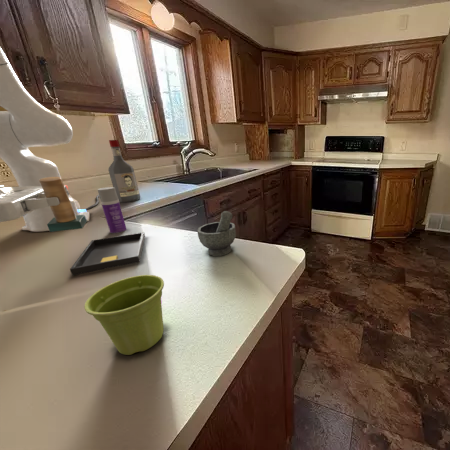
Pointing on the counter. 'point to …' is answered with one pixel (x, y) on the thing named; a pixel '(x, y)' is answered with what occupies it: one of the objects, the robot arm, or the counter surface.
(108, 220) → the container
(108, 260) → the block
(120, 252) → the pan
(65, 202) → the brush
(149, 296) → the plant pot
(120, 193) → the liquor
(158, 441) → the counter surface
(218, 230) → the mortar and pestle
